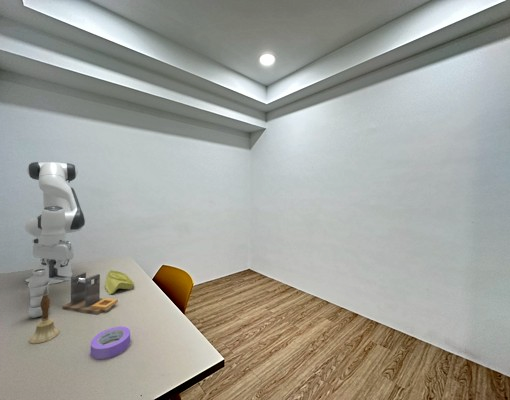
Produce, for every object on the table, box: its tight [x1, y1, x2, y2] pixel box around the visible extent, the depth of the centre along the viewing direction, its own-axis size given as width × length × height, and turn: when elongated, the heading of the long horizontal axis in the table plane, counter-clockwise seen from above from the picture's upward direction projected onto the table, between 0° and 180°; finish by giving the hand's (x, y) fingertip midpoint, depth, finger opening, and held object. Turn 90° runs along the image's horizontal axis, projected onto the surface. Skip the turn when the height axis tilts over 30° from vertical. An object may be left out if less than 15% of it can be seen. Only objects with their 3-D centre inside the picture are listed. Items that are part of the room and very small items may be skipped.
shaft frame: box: [61, 272, 117, 315], centre depth 101 cm, size 19×10×14 cm, turn 80°
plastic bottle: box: [27, 269, 51, 319], centre depth 92 cm, size 6×7×20 cm
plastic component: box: [104, 269, 135, 295], centre depth 123 cm, size 20×7×10 cm
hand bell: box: [28, 293, 61, 345], centre depth 80 cm, size 8×8×16 cm
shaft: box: [49, 260, 87, 283], centre depth 103 cm, size 23×3×9 cm, turn 80°
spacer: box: [92, 298, 119, 311], centre depth 100 cm, size 1×7×7 cm
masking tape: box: [90, 326, 131, 360], centre depth 76 cm, size 12×12×4 cm
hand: (53, 267), depth 105 cm, fingers closed on shaft, 3 cm apart
